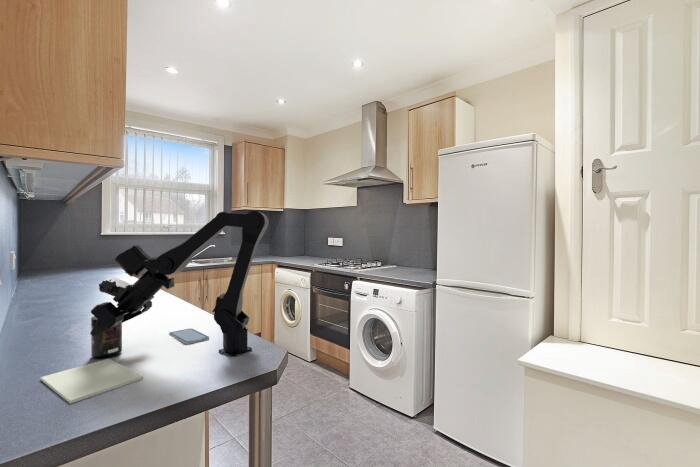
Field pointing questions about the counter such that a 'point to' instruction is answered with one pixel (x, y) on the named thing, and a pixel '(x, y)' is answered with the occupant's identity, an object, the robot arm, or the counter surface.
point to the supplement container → (106, 342)
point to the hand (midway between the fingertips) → (101, 330)
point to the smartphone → (189, 336)
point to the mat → (90, 380)
